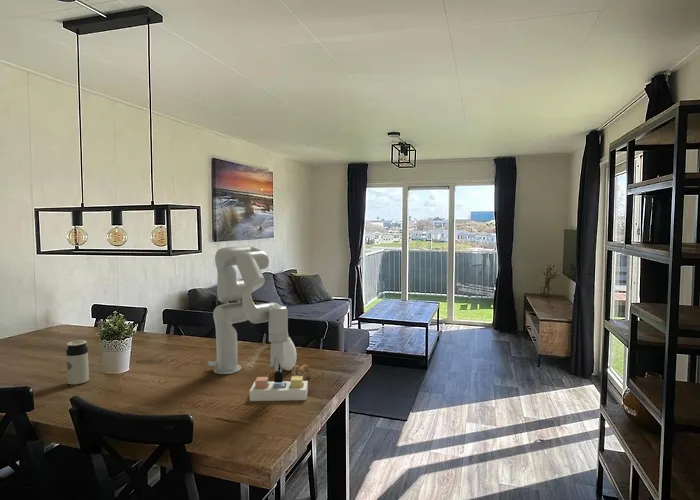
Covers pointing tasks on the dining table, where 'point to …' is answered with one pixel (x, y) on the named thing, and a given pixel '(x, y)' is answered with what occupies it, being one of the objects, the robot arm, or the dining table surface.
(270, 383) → the button board
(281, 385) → the blue button
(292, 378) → the ochre button
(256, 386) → the terracotta button
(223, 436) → the dining table surface
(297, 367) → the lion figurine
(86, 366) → the travel mug
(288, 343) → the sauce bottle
